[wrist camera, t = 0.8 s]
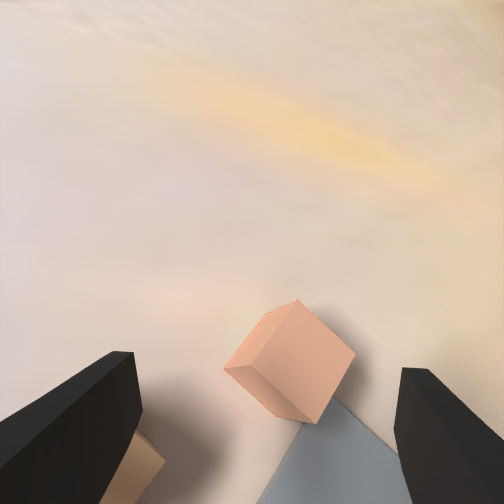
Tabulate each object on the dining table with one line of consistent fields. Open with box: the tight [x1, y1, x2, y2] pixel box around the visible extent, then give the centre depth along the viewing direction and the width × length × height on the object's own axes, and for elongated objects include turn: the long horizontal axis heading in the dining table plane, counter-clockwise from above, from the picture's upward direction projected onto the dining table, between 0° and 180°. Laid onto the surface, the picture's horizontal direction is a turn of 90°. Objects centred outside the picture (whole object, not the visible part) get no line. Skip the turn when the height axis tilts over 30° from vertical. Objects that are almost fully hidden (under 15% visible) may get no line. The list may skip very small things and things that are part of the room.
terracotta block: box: [223, 300, 356, 424], centre depth 22 cm, size 4×4×5 cm
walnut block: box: [99, 429, 166, 504], centre depth 17 cm, size 4×4×5 cm
